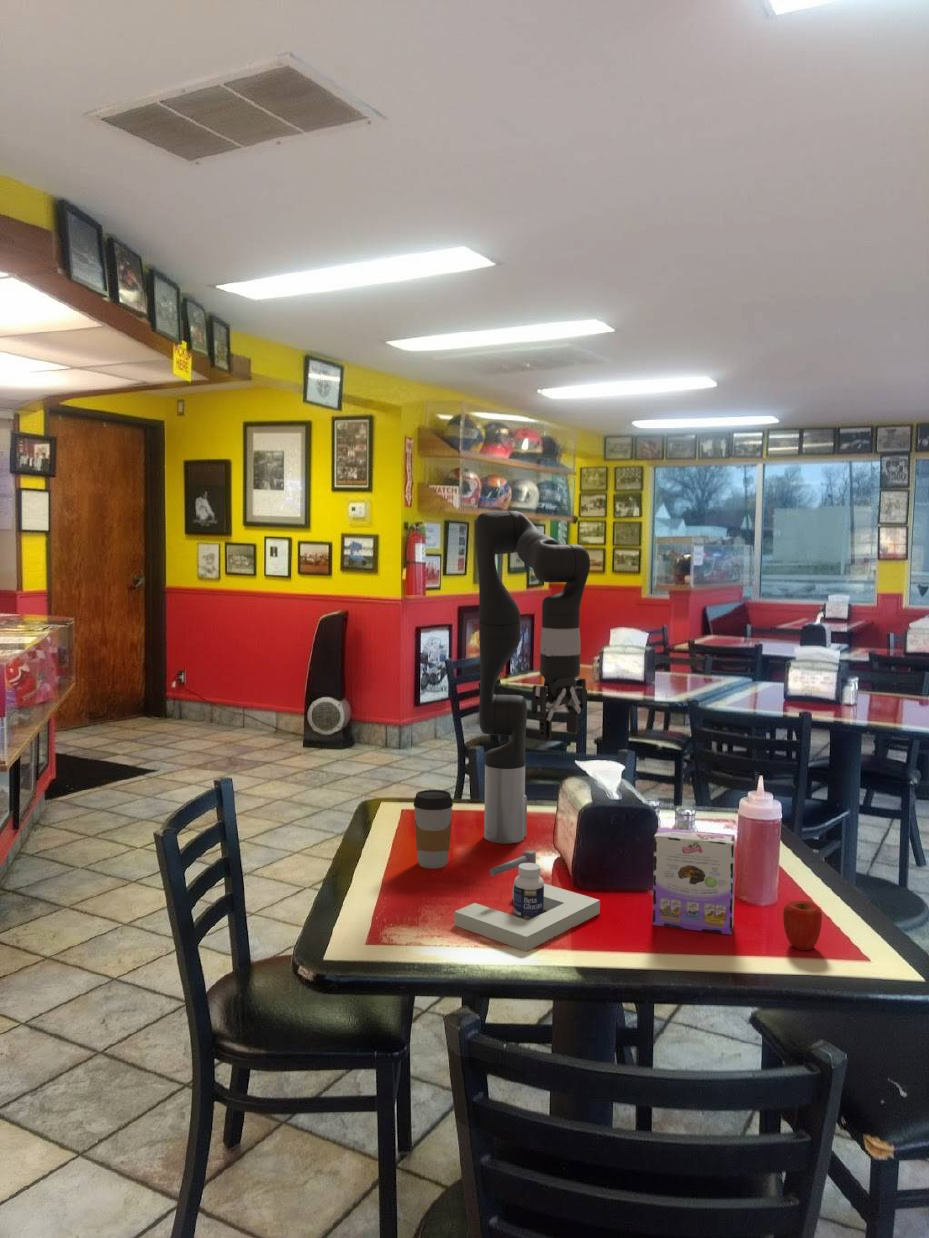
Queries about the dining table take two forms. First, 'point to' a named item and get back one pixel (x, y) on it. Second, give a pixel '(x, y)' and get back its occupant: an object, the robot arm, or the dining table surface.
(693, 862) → the candy box
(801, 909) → the apple
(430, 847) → the coffee cup
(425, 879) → the dining table surface
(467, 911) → the grey u-shaped piece
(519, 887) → the pill bottle
